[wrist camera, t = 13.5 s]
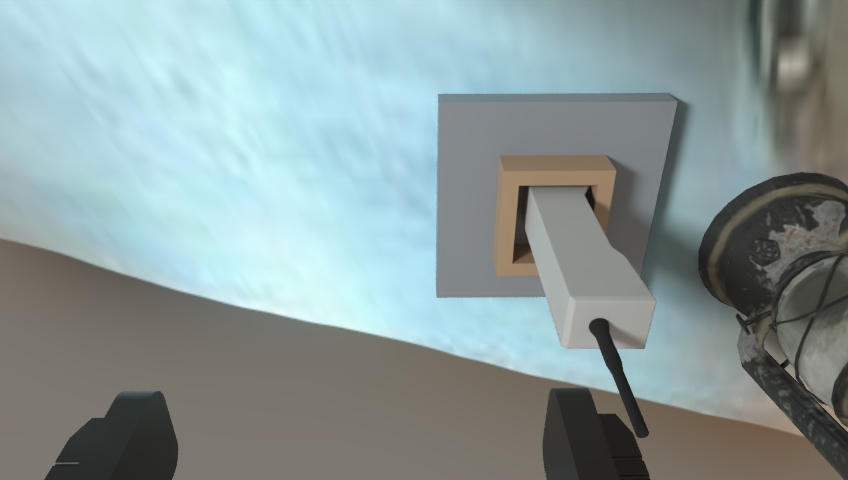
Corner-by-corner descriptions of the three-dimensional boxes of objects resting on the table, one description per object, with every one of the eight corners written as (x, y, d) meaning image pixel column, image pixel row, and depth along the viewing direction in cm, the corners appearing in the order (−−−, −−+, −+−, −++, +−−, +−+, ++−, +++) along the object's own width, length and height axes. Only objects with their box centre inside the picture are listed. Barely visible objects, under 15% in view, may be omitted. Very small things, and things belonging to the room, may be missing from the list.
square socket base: (438, 94, 48) (440, 115, 44) (668, 93, 49) (693, 114, 44) (435, 284, 57) (437, 318, 53) (629, 283, 58) (646, 316, 53)
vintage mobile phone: (580, 217, 52) (698, 463, 30) (520, 217, 52) (596, 462, 30) (587, 177, 50) (718, 407, 28) (525, 176, 50) (609, 407, 28)
